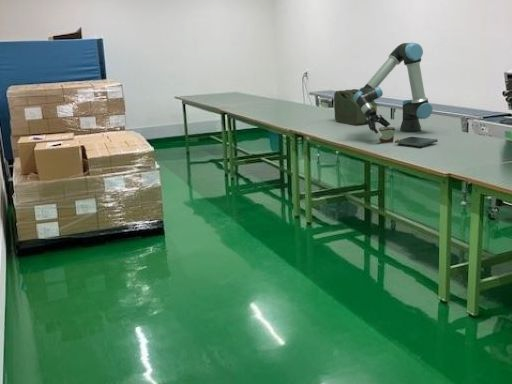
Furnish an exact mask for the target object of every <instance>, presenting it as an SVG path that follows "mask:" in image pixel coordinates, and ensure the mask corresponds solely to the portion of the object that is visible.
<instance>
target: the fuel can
mask: <svg viewBox="0 0 512 384" xmlns="http://www.w3.org/2000/svg"><path fill="white" fill-rule="evenodd" d="M358 90H359V89H356V88H354V89H353V88H352V89H345V90H336V91H335V92H334V95H333V99H334V100H333V102H334V119H335V121H336V123H340V124H345V125H349V126H361V125H368V122H367V120H366V118H367V117H366V116H365V114H364V113H363V112H362V110H361V109H360V107H359V106H358V105H357V103H356V102H355V101H354V99H353V97H354V95H355V94H356V93H357V92H358ZM370 104H371V105H372V106H373V108H374V109H375V110H376V114H377V109H378V108H377V107H378V105H377V103H376V102H375V100H373V101H371V102H370ZM377 115H378V114H377Z"/></svg>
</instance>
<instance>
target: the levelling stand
mask: <svg viewBox="0 0 512 384" xmlns="http://www.w3.org/2000/svg"><path fill="white" fill-rule="evenodd" d="M437 142H439V141H438V138H430V137H429V138H428V137H420V136H419V137H418V136H409V137H404V138H397V139H395V140H394V144H397V145H398V146H405V145H409V146H416V147H415V148H418V149H419V148H420V149H421V148H423V147H424V146H426V145H429V144H430V145H431V144H433V143H437Z"/></svg>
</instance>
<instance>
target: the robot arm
mask: <svg viewBox="0 0 512 384" xmlns="http://www.w3.org/2000/svg"><path fill="white" fill-rule="evenodd" d="M423 55H424V50H423V46H422V45H420V44H419V43H417V42H403V43H401V44H399V45H397V46H396V47H395V48H394V49H393V51H392V52H391V53H390V54H389V55H388V58H387V59H386V61H385V62H384V63H383V64H382V65H381V66H380V68H378V70H377V71H376V72H375V73H374V75H373V76H372V77H370V79H369V80H368V82H367V83H366V84H365V85H364V86H363V87H360V88H359V89H358V92H357V93H356V94H355V95H354V97H353V99H354V101H355V102H356V103H357V105H358V106H359V107H360V109H361V110H362V112H363V113H364V114H365V116H366V117H367V118H366V120H367V122H368V124H367V125H368V128H369V130H370V131H371V132H374V133H375V134H376V136H377V137H378V139H379V138H380V137H381V136H382V134H381V133H380V131H379V130H378V127H376V123H378V124H381V125H382V127H390V126H391V123H390V121H388V120H387V119H386V118H385V117H383V115H382V114H376V110H375V109H374V108H373V106H372V105H371V104H370V102H371V101H376V100H377V99H379V98H381V97H383V94H384V93H383V90H382V88H381V87H380V85H381V84H382V82H383V81H384V80H385V79H386V78H387V77H388V75H389V74H390V73H391V72H392V71H393V70H394V69H395V67H396V66H397V65H400V64H401V63H402V62H403V65H404V66H405V67H406V68H407V69H406V70H407V75H408V79H409V80H408V81H409V86H410V92H411V97H412V99H408V100H407V99H404V100H403V101H402V121H401V124H400V127H399V131H400V132H404V133H416V132H421V131H422V126H421V123H420V120H426V119H428V118H430V116H431V115H432V114H433V106H432V104H431V103H429V99H428V97H427V96H426V94H425V87H424V83H423V77H422V72H421V71H422V69H421V66H420V63H421V61H422V57H423Z"/></svg>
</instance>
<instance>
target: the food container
mask: <svg viewBox="0 0 512 384" xmlns="http://www.w3.org/2000/svg"><path fill="white" fill-rule="evenodd" d="M377 129H378V130H379V131H380V133H381V134H382V136H381V137H380V138H379V137H378V141H379V144H381V145H382V144H391V143H394V142H395V140H394V139H395V131H396V127H394V126H389V127H385V126H381V127H377Z"/></svg>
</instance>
